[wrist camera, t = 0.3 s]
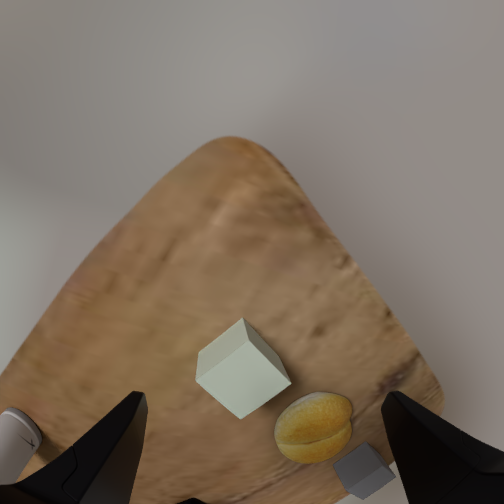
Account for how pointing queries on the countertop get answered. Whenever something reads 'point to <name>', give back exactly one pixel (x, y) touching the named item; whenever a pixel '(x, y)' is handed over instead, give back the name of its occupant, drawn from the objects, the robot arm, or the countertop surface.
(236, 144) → the countertop surface
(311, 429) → the bread roll
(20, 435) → the travel mug
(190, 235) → the countertop surface
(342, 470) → the charcoal block
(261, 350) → the sage block
